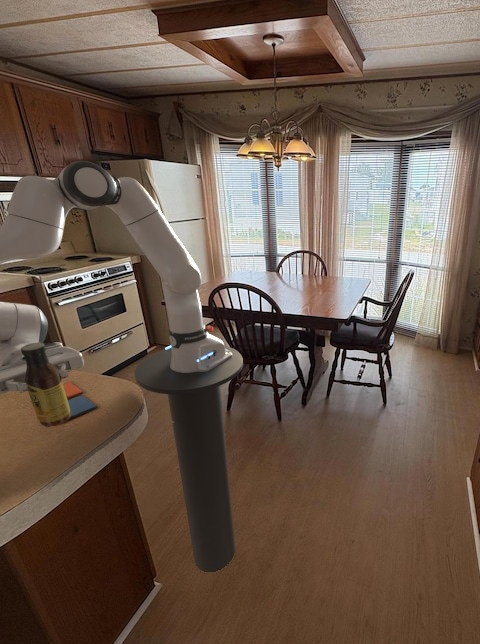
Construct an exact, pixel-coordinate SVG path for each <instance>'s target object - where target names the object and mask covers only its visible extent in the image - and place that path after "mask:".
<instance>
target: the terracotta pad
mask: <svg viewBox="0 0 480 644" xmlns="http://www.w3.org/2000/svg"><path fill="white" fill-rule="evenodd" d="M63 387H64V390H65V393H66V397H67V400H70V399H72V398H75V397H77V396H80V395H82V394H83V393H84V391H83V390H82V389H80V388H79V387H77V386H76V385H74V383H72V382H71V381H68V382H65V383H63Z"/></svg>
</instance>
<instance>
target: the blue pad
mask: <svg viewBox="0 0 480 644" xmlns="http://www.w3.org/2000/svg"><path fill="white" fill-rule="evenodd" d="M67 400H68V404H69V407H70V412H71V416H70V418H69V420H71V419H73V418H75V417H78V416H80V415H83V414H85V413H87V412H90V411H92V410H95V409H97V408H98V407H97V405H96V404H95V403H93V402H92V401H90V399H88V398H86V397H85V396H84V395H82V394H80V395H77V396H75V397H72V398H69V399H67Z"/></svg>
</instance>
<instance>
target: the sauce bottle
mask: <svg viewBox="0 0 480 644" xmlns="http://www.w3.org/2000/svg"><path fill="white" fill-rule="evenodd" d="M44 344H45V343H44V342H43V343H31V344H27V345H25V346H23V347H22V348H21V352H22V354H23V355H24V357H25V360H26V365H27V369H26V376H25V383H26V384H27V385H28V388H29V390H28V391H27V392H28V395H29V398H30V400H31V404H32V406H33V409H34V412H35V415H36V418H37V420H38V421H39V423H40V425H42V426H43V427H46V428H50V427H55V426H59V425H61V424H64V423H66V422H67V421H69V420H70V419H69V418H70V416H71V412H70V407H69V404H68V400H69V399H67V397H66V393H65V390H64V387H63V384H64V383H63V379H61V378H60V375H59V372H58V369H57V368H56V367H55V366H54V365H52V364H51V363H50V362H49V359H48V358H47V355H46V348H45V345H44Z"/></svg>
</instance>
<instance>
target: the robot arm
mask: <svg viewBox="0 0 480 644" xmlns="http://www.w3.org/2000/svg"><path fill="white" fill-rule="evenodd" d="M101 207H107V208H108V209H109V210H111V211H113V212H114V213H115V215H117V216H118V219H119V220H120V221H121V223H122V224H123V226H124V227H125V228H126V230H127V232H128V233H129V234H130V235H131V237H132V238H133V240H134V241H135V242H136V244H137V245H138V247H139V248H140V249H141V251H142V252H143V254H144V255H145V257H146V259H147V260H148V261H149V263H150V265H152V267H153V268H154V269H155V271H156V273H157V274H158V275H159V277H160V282H161V287H162V293H163V297H164V298H163V299H164V302H165V308H166V314H167V315H166V316H167V321H168V337H169V343H170V345H169V346H166V347H164V350H167V349H169V348H171V363H170V368H171V369H172V370H173V371H176V372H181V373H191V372H207V371H209V370H211V369H213V368H214V367H216V366H217V365H219V364H221V363H222V362H224V361H226V360H227V359H229V358H231V357H232V353H231V352H230V351H229V350H227V349H225V346H226V345H225V343H224V342H223V338H222V337H218V336H215V335H213V334H210V333H212V332H214V330H215V329H214V326H211V325H206V324H204V320H203V311H202V303H201V301H200V300H201V299H200V295H199V291H198V290H199V289H200V287H201V284H202V273H201V271H200V268H199V267H198V265H197V264H196V263H195V261H194V259H193V258H192V257H191V255H190V254H189V252H188V250H187V249H186V248H185V246H184V245H183V243H182V241H181V240H180V239H179V237H178V236H177V233H175V231H174V230H173V228H172V227H171V225H170V223H169V222H168V220H167V219H166V217H165V215H164V213H162V211H161V209H160V208H159V206H158V205H157V203H156V202H155V200H154V199H153V198H152V196H151V195H150V194H149V192H148V191H147V189H146V188H145V187H144V186H143V185H142V184H141V183H140V182H139V181H138V180H137V179H135V178H133V177H129V176H122V177H116V176H115V175H113V174H112V173H110V172H109V171H107V170H106V169H105V168H103V167H102V166H100V165H98V164H96V163H94V162H91V161H88V160H76V161H73V162H71V163H69V164H68V165H66V166H65V167H63V169H62V170H61V171H60V173H59V175H58V176H56V177H55V178H54V179H49V178H46V177H43V176H40V175H24V176H22V177H21V178H20V179H18V181H17V183H16V185H15V187H14V189H13V192H12V194H11V196H10V200H9V203H8V207H7V213H6V216H5V219H4V221H3V223H2V224H1V226H0V265H2V264H4V263H7V262H10V261H16V260H28V259H29V260H30V259H38V258H42V257H46V256H49V255H51V254H53V253H55V251H57V250H58V249H59V247H60V245H61V243H62V240H63V235H64V230H65V224H66V218H67V216H68V214H69V212H70V211H71V210H77V211H79V210H80V211H90V210H96V209H100V208H101ZM48 329H49V322H48V319H47V317H46V315H45V314H44V312H43V311H42V310H41V308H39V307H38V306H37V305H33V304H27V303H18V302H8V301H7V302H6V301H0V395H3V394H5V393H9V392H19V393H20V394H22V393H23V394H24V393H26V392H28V390H29V388H28V385H27V384H26V383H25V376H26V369H27V365H26V360H25V357H24V355H23V354H22V352H21V348H22V347H23V346H25V345H27V344H31V343H43V344H44V345H45V348H46V355H47V358H48V359H49V362H50V363H51V364H52V365H54V366H55V367H56V368H57V369H58V372H59V375H60V378H61V380H63V379H66V378H69V372H72V371H75V370H79V369H81V368H83V367H84V366H85V359H84V356H83V354H82V353H81V351H79V350H77V349H75V348H73V347H71V346H63V343H62V342H60V341H56V342H48V343H44V341H45V340H46V337H47V334H48Z"/></svg>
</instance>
